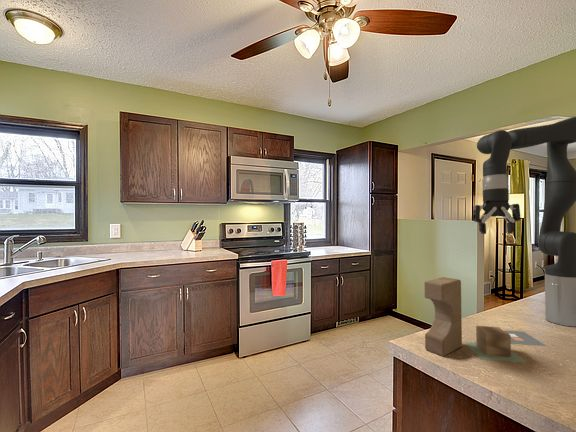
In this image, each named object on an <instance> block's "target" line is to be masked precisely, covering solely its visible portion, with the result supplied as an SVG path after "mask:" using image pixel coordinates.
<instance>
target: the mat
mask: <svg viewBox="0 0 576 432" xmlns="http://www.w3.org/2000/svg"><path fill="white" fill-rule="evenodd" d="M463 343H464V344H465V345H466V346H467V347H468V348H469V349H470V350H471V351H472V352H473V353H474V354H475V355H476V356H477V357H478V358H479V359H480V360H487V361H503V362H514V363H528V362H527V361H526V360H525V359H523V358H522V357H521V356H519V355H518V354H517V353H515V352H514V351H513V350H511V357H501V356H488V355H486V354H485V353H483V352H482V351H481V350H480V349H479V348H478V347H477V346H476V342H472V341H463Z"/></svg>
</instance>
